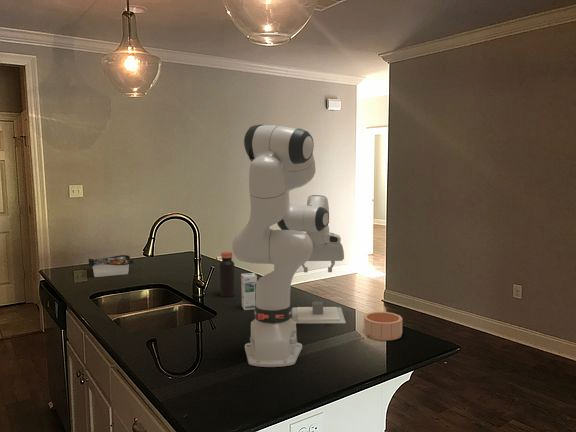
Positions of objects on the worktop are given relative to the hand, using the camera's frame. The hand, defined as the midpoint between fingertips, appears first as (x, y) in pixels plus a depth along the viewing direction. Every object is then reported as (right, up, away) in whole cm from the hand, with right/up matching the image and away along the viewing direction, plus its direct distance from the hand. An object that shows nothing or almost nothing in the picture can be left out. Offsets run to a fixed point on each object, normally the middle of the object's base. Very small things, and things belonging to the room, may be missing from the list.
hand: (317, 272), depth 189 cm
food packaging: (-112, -11, +86) cm, 141 cm away
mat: (0, -18, +2) cm, 18 cm away
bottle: (-40, -15, +35) cm, 55 cm away
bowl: (+22, -20, -18) cm, 34 cm away
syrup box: (-28, -17, +15) cm, 36 cm away
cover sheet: (0, -17, +2) cm, 17 cm away
